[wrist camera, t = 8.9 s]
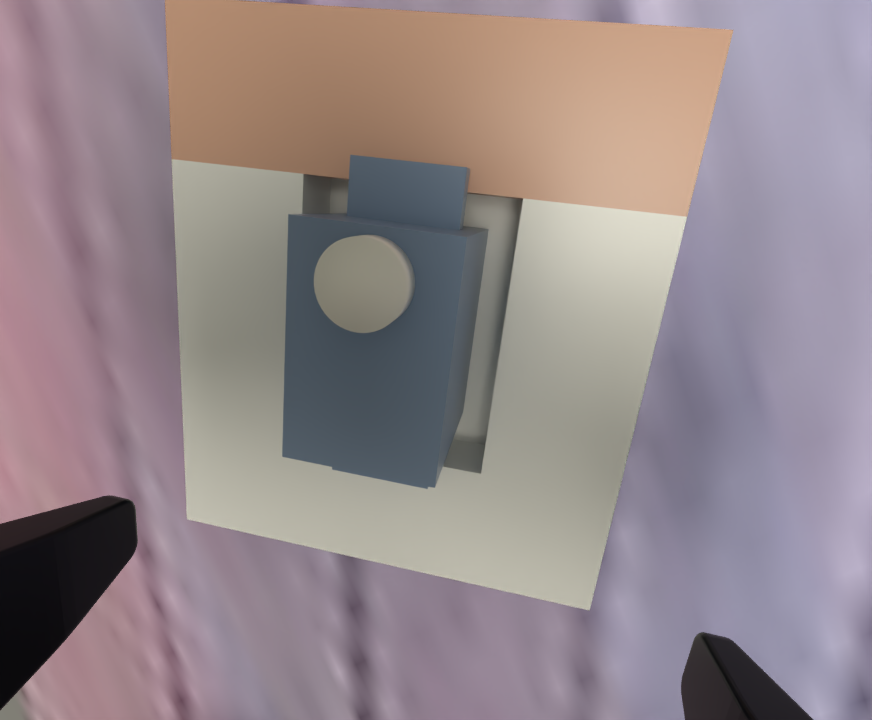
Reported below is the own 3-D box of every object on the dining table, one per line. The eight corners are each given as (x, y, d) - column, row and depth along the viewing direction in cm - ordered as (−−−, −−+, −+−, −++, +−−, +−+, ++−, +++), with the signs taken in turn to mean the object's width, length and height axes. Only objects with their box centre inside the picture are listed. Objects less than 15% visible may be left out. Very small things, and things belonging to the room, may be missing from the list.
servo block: (457, 451, 18) (421, 560, 12) (347, 430, 18) (265, 525, 13) (496, 176, 15) (471, 156, 9) (365, 162, 16) (271, 135, 10)
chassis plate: (581, 550, 19) (589, 610, 16) (234, 477, 21) (186, 519, 18) (694, 66, 14) (733, 30, 11) (229, 33, 16) (164, -5, 13)
